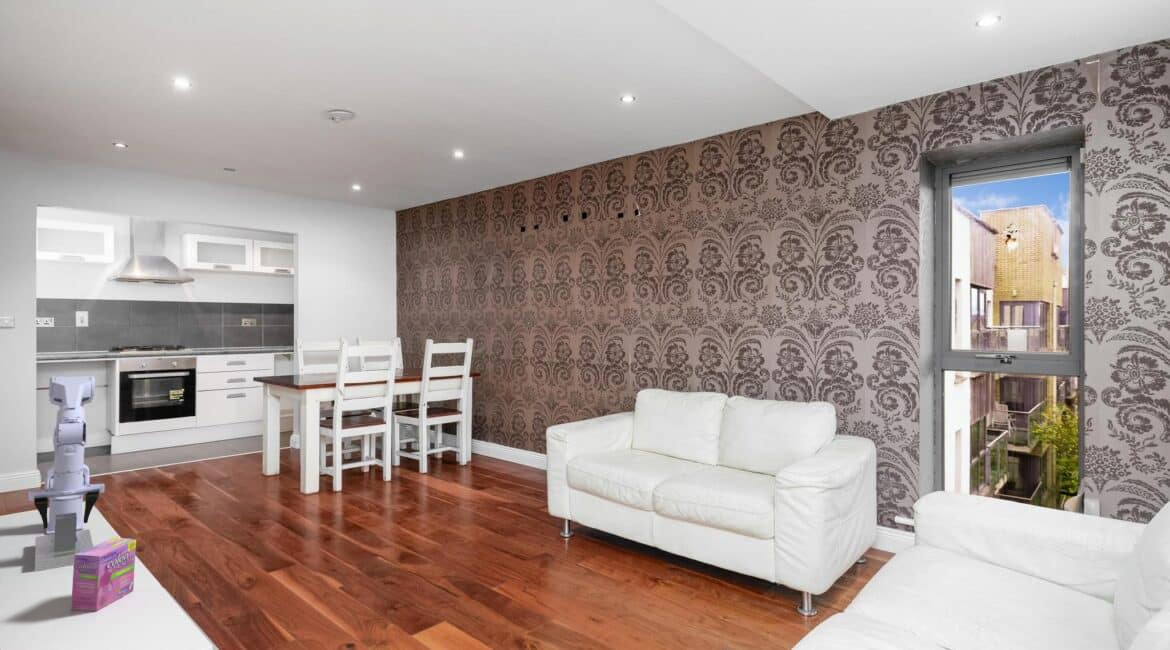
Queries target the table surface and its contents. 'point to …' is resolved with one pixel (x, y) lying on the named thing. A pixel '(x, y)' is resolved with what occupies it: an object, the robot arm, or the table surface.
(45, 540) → the plate
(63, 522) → the grey rectangular block
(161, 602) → the table surface
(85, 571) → the box
